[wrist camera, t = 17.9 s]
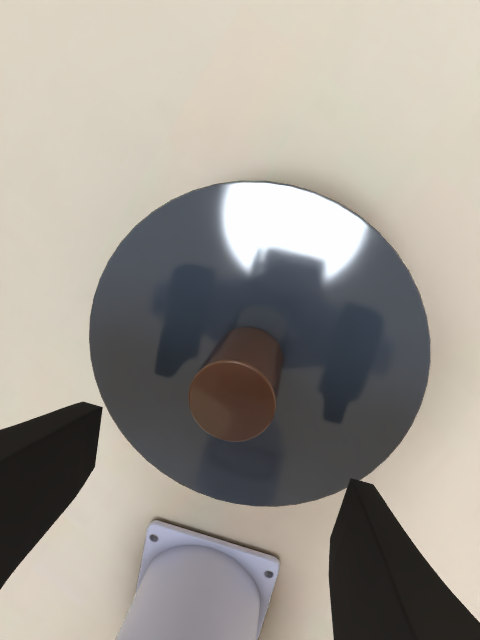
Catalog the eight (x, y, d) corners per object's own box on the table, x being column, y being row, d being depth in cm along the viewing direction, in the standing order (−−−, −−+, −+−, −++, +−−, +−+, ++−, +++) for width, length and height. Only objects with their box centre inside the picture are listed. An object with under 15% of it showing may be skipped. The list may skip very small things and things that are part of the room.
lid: (365, 524, 17) (381, 628, 12) (88, 442, 18) (20, 514, 14) (474, 225, 13) (546, 235, 9) (123, 149, 14) (47, 127, 10)
